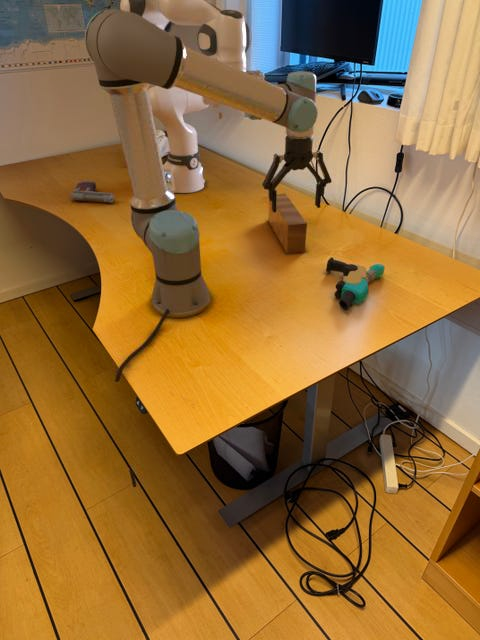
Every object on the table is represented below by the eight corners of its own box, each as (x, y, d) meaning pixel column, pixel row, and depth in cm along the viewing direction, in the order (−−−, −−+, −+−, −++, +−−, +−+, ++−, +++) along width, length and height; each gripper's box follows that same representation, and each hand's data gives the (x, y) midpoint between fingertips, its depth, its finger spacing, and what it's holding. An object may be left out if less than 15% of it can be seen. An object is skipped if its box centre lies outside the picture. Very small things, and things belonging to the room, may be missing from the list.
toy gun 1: (126, 191, 190) (111, 206, 179) (83, 188, 193) (65, 202, 182) (125, 182, 188) (109, 196, 176) (81, 179, 191) (63, 193, 179)
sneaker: (130, 167, 214) (125, 139, 207) (157, 149, 236) (154, 123, 229) (151, 169, 212) (147, 141, 204) (176, 150, 234) (174, 125, 226)
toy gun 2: (304, 289, 121) (361, 305, 115) (336, 248, 139) (387, 259, 134) (302, 304, 124) (359, 320, 118) (334, 262, 142) (384, 273, 136)
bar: (304, 251, 148) (307, 223, 142) (286, 253, 147) (288, 225, 141) (284, 219, 167) (285, 193, 162) (268, 220, 166) (269, 194, 161)
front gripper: (337, 128, 135) (331, 199, 148) (251, 135, 132) (252, 207, 144) (347, 135, 129) (339, 209, 142) (257, 142, 126) (258, 217, 138)
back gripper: (262, 68, 154) (261, 113, 163) (199, 71, 151) (202, 117, 160) (266, 71, 149) (265, 118, 158) (202, 74, 146) (204, 121, 155)
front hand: (295, 208), depth 143 cm, fingers open, 13 cm apart
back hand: (233, 117), depth 159 cm, fingers open, 8 cm apart
